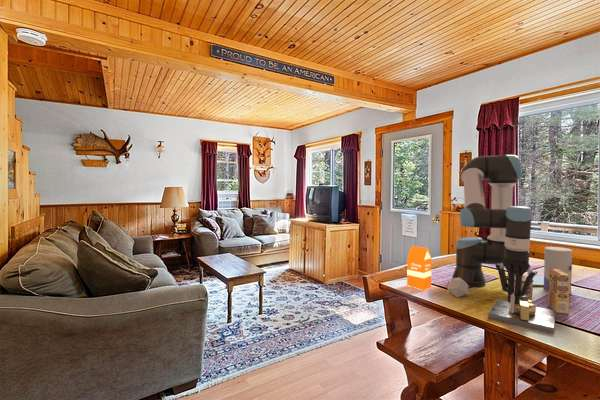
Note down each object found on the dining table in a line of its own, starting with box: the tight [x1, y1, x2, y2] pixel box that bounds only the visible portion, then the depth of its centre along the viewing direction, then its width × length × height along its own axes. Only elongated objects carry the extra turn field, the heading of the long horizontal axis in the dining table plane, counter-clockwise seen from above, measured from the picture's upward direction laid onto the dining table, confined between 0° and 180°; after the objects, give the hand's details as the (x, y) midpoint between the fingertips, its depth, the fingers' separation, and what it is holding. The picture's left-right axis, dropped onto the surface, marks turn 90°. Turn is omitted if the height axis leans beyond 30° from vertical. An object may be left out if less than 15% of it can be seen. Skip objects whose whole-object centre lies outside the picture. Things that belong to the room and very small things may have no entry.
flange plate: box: [487, 295, 557, 334], centre depth 117 cm, size 19×19×8 cm
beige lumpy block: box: [515, 300, 537, 321], centre depth 115 cm, size 13×8×5 cm, turn 149°
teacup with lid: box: [513, 273, 534, 301], centre depth 138 cm, size 12×9×12 cm
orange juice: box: [406, 245, 432, 291], centre depth 154 cm, size 8×9×20 cm
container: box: [543, 246, 573, 294], centre depth 146 cm, size 10×10×20 cm
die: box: [447, 277, 470, 298], centre depth 141 cm, size 8×9×10 cm
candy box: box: [548, 269, 570, 315], centre depth 124 cm, size 9×4×15 cm, turn 159°
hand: (513, 311), depth 114 cm, fingers closed
